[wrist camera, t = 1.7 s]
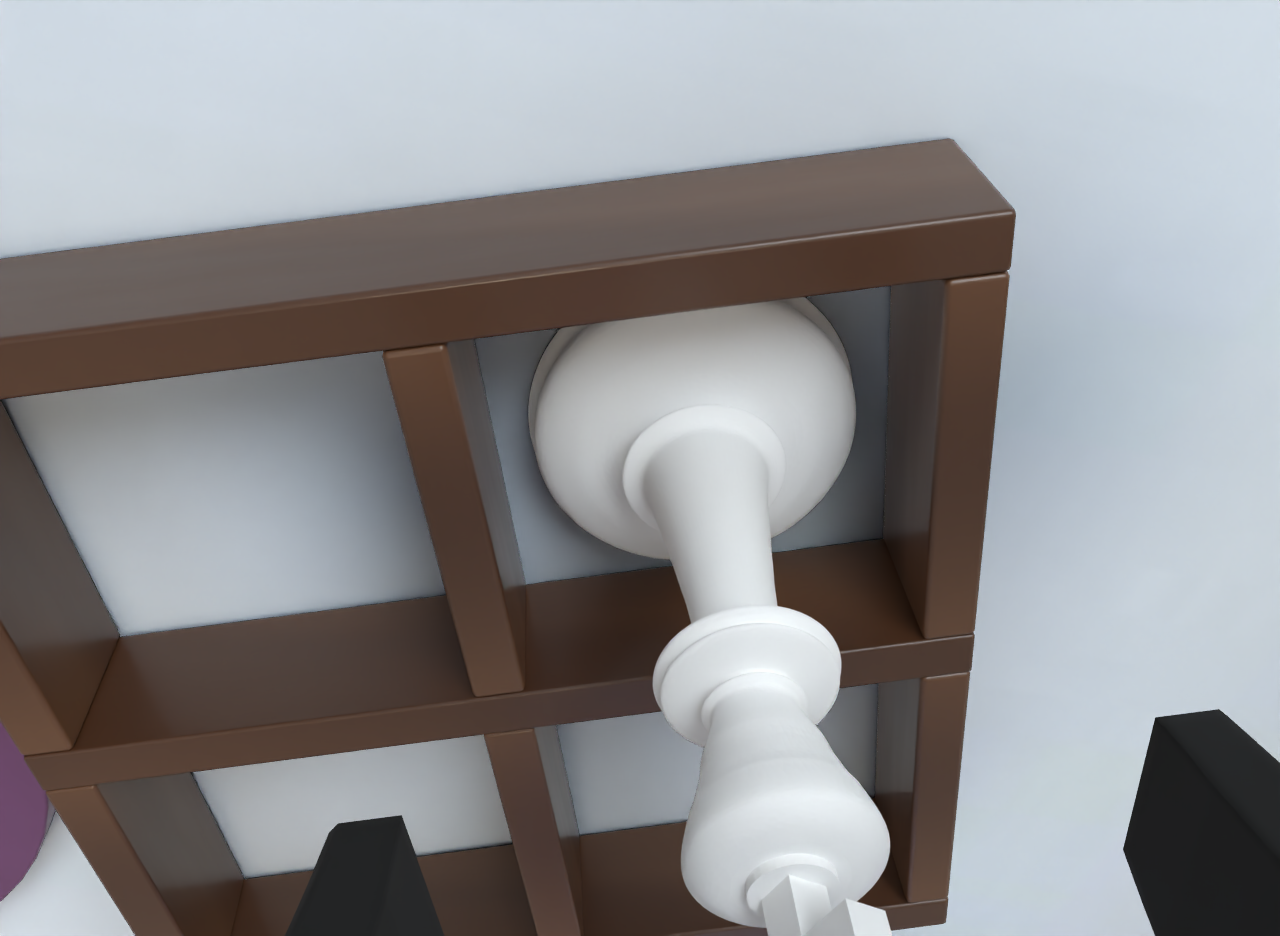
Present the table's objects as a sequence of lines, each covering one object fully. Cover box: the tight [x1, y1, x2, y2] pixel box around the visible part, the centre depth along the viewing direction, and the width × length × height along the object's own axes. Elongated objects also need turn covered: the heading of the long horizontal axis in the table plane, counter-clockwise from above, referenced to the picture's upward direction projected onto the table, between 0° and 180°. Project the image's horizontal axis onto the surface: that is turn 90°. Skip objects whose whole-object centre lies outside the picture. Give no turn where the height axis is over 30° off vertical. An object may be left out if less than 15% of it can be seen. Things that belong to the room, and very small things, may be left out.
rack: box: [0, 139, 1016, 936], centre depth 18 cm, size 14×14×2 cm
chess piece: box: [528, 297, 892, 936], centre depth 13 cm, size 5×5×10 cm
